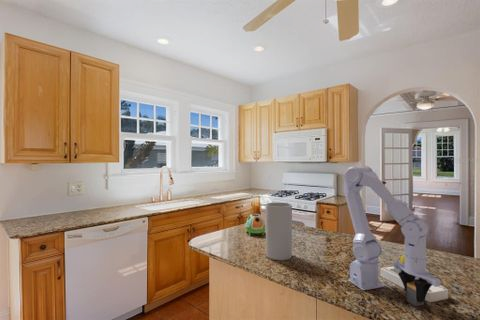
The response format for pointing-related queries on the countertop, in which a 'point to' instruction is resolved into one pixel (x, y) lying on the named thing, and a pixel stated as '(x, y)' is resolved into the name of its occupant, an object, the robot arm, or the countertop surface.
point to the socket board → (433, 291)
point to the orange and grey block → (412, 294)
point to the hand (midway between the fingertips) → (415, 298)
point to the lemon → (402, 259)
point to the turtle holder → (255, 224)
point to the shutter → (396, 270)
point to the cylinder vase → (279, 231)
